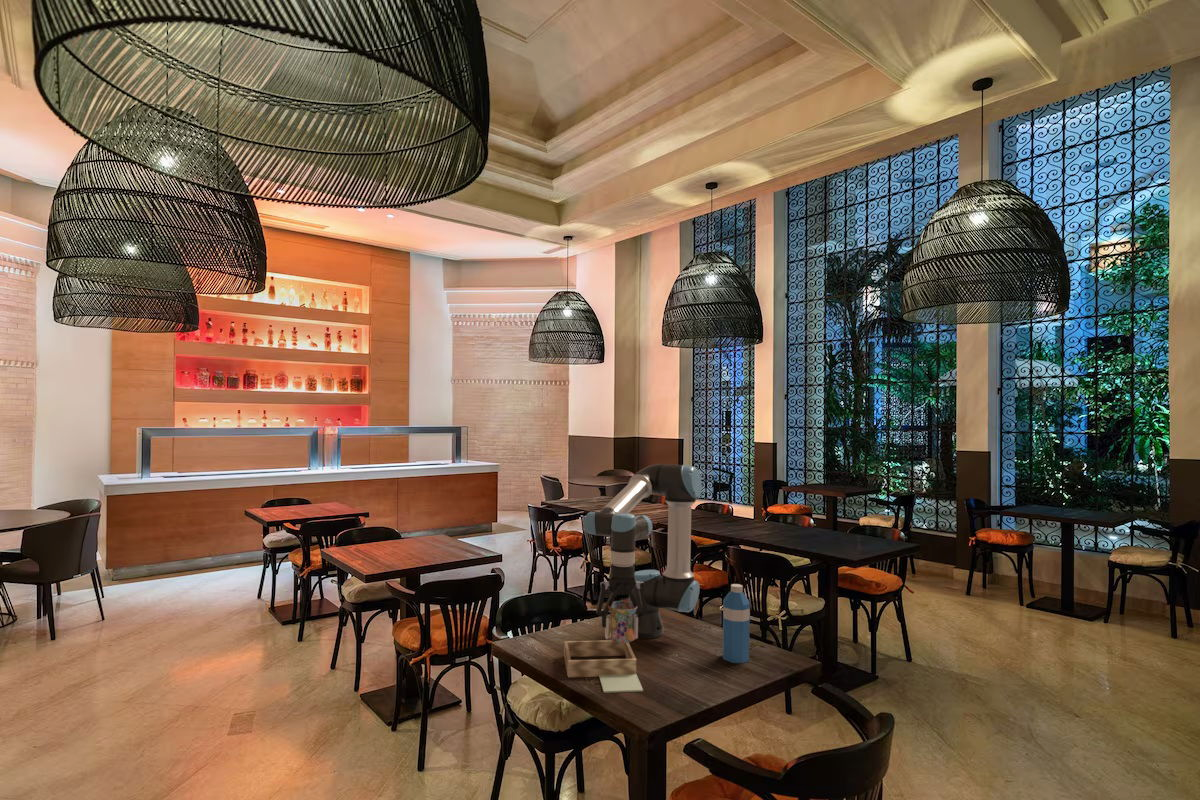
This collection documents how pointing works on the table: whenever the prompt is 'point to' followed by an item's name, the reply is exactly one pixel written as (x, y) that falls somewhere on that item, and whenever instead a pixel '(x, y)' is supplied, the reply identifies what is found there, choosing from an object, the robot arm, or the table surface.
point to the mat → (620, 683)
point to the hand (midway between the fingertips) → (621, 637)
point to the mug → (622, 621)
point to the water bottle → (736, 625)
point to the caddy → (601, 665)
